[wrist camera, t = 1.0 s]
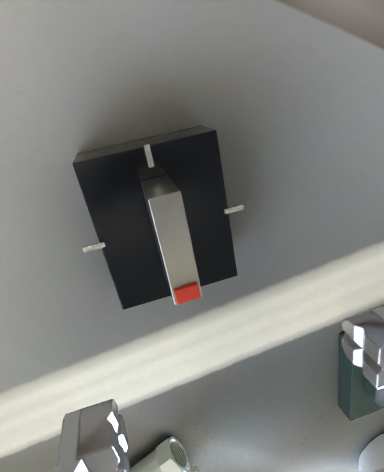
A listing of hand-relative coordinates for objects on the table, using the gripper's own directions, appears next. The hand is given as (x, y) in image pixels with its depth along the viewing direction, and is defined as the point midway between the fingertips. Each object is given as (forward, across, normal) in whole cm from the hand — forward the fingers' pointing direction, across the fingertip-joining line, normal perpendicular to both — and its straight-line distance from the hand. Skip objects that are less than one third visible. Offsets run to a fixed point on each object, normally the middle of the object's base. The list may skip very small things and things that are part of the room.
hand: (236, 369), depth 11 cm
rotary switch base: (+16, 0, 0) cm, 16 cm away
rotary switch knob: (+13, 0, 0) cm, 13 cm away
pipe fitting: (+17, +7, +29) cm, 34 cm away
